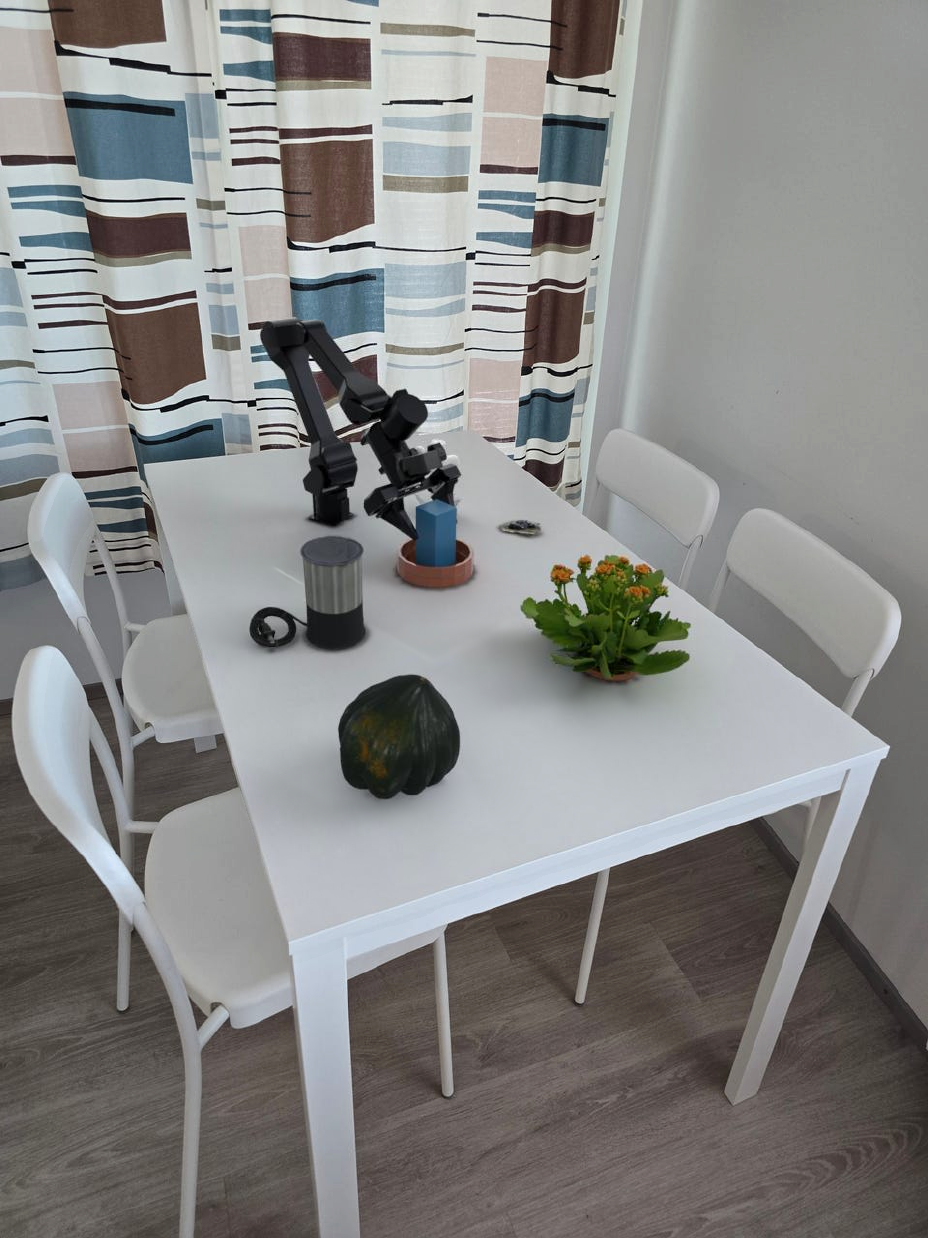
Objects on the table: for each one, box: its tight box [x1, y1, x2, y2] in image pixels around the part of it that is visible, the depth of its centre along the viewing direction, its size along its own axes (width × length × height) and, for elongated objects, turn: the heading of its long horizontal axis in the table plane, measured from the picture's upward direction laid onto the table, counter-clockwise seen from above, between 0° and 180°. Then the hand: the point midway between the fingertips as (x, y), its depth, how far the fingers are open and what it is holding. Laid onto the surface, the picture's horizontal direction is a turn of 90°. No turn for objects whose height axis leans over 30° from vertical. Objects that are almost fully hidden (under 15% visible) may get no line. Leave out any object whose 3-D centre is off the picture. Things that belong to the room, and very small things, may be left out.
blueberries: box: [500, 519, 542, 536], centre depth 167 cm, size 7×8×2 cm
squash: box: [337, 674, 461, 800], centre depth 102 cm, size 14×15×15 cm
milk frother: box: [248, 535, 367, 650], centre depth 128 cm, size 14×16×15 cm
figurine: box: [414, 438, 462, 508], centre depth 170 cm, size 7×9×15 cm
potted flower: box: [520, 554, 692, 682], centre depth 123 cm, size 25×24×18 cm
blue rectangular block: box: [415, 499, 458, 567], centre depth 148 cm, size 5×5×12 cm
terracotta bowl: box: [396, 537, 475, 589], centre depth 151 cm, size 13×13×4 cm
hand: (436, 531), depth 147 cm, fingers open, 9 cm apart
